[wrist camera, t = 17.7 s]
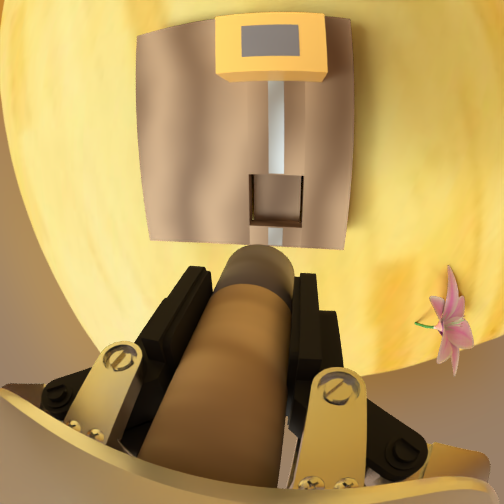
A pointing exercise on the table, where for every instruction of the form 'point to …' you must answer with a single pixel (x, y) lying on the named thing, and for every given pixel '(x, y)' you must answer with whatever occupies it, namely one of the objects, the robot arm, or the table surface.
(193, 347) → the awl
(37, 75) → the table surface
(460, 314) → the lily
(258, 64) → the block
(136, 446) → the robot arm
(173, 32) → the board
